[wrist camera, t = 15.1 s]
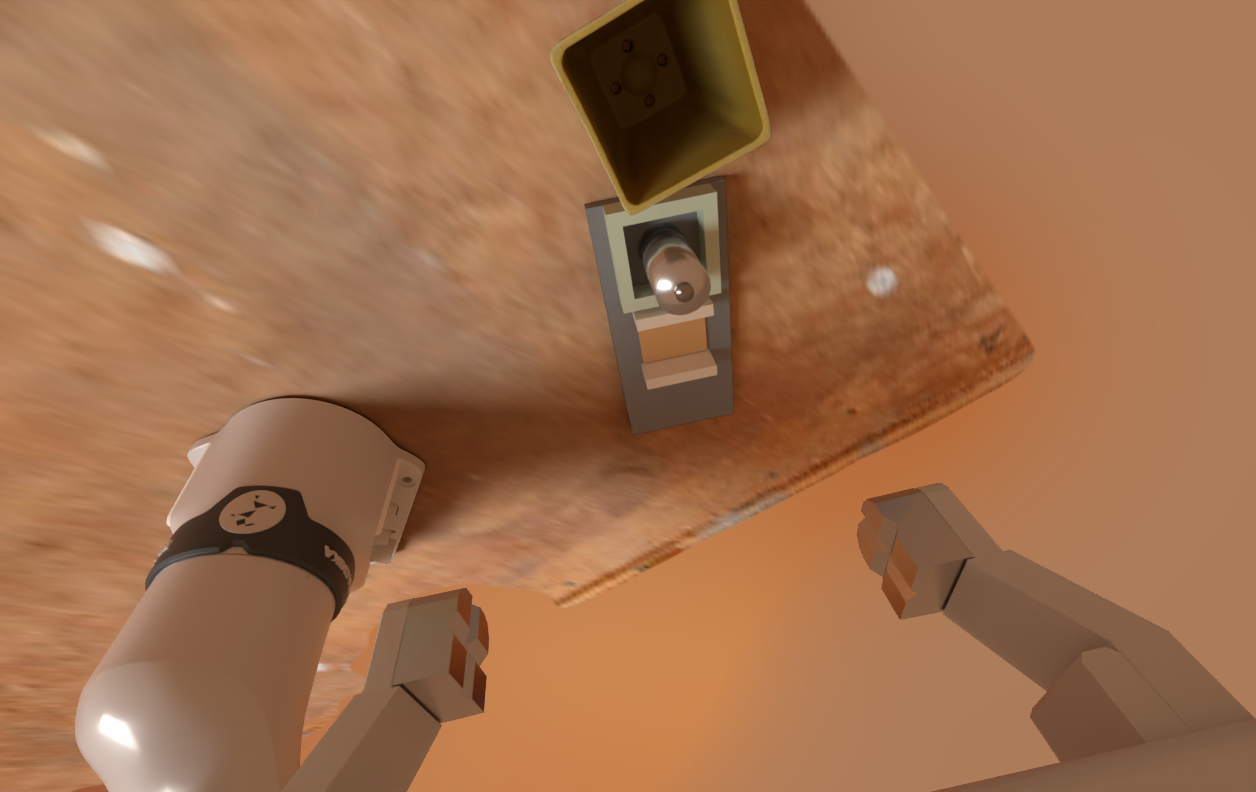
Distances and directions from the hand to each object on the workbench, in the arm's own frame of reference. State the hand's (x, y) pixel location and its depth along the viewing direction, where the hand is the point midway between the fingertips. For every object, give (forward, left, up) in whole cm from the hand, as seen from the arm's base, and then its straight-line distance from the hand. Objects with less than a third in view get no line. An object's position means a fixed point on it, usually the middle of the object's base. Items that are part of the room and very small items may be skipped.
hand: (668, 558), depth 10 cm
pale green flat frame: (-4, -7, -31) cm, 32 cm away
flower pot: (+6, -3, -31) cm, 32 cm away
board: (-11, -10, -31) cm, 34 cm away
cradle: (-11, -10, -31) cm, 35 cm away
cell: (-4, -7, -30) cm, 31 cm away
